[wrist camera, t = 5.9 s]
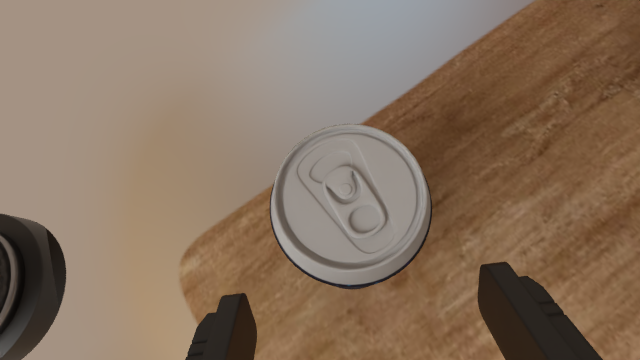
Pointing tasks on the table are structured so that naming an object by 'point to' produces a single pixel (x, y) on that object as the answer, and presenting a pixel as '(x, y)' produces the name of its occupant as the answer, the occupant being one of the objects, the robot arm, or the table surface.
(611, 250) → the table surface
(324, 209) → the beverage can
